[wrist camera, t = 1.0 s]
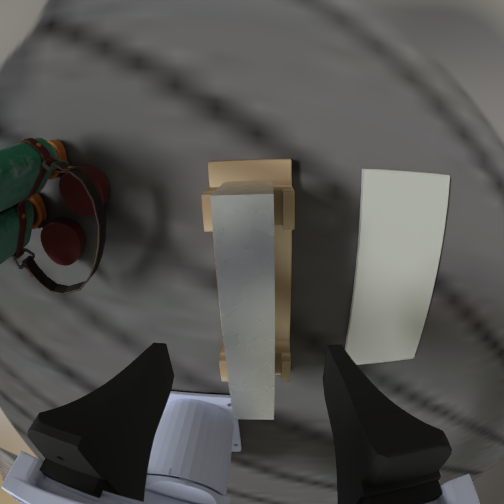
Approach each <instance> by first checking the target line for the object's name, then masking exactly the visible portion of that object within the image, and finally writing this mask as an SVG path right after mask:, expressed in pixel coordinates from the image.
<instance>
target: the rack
mask: <svg viewBox="0 0 504 504" xmlns="http://www.w3.org/2000/svg"><path fill="white" fill-rule="evenodd" d="M208 170H209V186H210V187H209V188H208V189H207V190H206V191H205V192H204V193H203V194H202V195H201V197H202V210H203V222H204V231H213V224H212V211H211V197H210V196H211V195H212V194H213V193H214V192H215V191H216V190H217V189H218V187H219V186H220V185H221V184H222V183H223V182H229V181H259V180H273V192H274V247H275V375H281V382H290V369H291V355H290V341H289V339H290V309H291V260H292V230H295V192H294V189H293V187H292V176H291V159H253V160H228V161H210V162H208ZM213 240H214V237H213ZM214 252H215V249H214ZM215 263H216V261H215ZM216 274H217V272H216ZM217 285H218V282H217ZM218 295H219V293H218ZM219 305H220V303H219ZM220 315H221V313H220ZM221 324H222V322H221ZM222 333H223V331H222ZM219 366H220V373H221V380H222V381H228V375H227V366H226V358H225V349H224V341H223V344H222V348H221V353H220V358H219Z"/></svg>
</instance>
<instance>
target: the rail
mask: <svg viewBox="0 0 504 504" xmlns="http://www.w3.org/2000/svg"><path fill="white" fill-rule="evenodd" d="M210 197H211V211H212V224H213V237H214V249H215V261H216V272H217V282H218V293H219V303H220V313H221V322H222V331H223V341H224V349H225V358H226V366H227V375H228V383H229V391H230V398H231V406H232V413H233V419H250V420H274V380H275V247H274V192H273V180H259V181H229V182H223V183H222V184H221V185H220V186H219V187H218V189H217V190H216V191H215V192H214V193H213V194H212V195H211V196H210Z"/></svg>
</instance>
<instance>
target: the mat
mask: <svg viewBox="0 0 504 504" xmlns="http://www.w3.org/2000/svg"><path fill="white" fill-rule="evenodd" d="M449 183H450V175H445V174H435V173H424V172H413V171H399V170H384V169H364V168H362V180H361V204H360V221H359V235H358V248H357V258H356V269H355V278H354V287H353V295H352V303H351V310H350V317H349V324H348V330H347V337H346V343H345V350H346V352H347V353H348V354H349V356H350V357H351V358H352V360H353V361H354V362H355V364H356V365H360V364H370V363H380V362H389V361H397V360H405V359H412V358H414V356H415V353H416V350H417V347H418V344H419V340H420V337H421V334H422V330H423V327H424V323H425V320H426V316H427V312H428V309H429V305H430V301H431V297H432V292H433V288H434V284H435V279H436V274H437V269H438V264H439V259H440V254H441V248H442V242H443V235H444V229H445V221H446V213H447V205H448V195H449Z"/></svg>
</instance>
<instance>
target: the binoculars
mask: <svg viewBox="0 0 504 504" xmlns="http://www.w3.org/2000/svg"><path fill="white" fill-rule="evenodd" d="M68 163H69V162H68V161H67V157H66V151H65V149H64V146H63V144H62V143H61V142H60V141H58V140H50V141H46V140H44V139H42V138H36V139H33V138H28V139H24V140H22V141H20V142H18V143H17V144H16V145H13V146H10V147H7V148H5V149H2V150H0V264H1V263H3V262H4V261H5V260H7V259H8V258H9V257H11V256H14V257H13V260H14V262H15V264H16V266H17V268H19V269H22V268H25V269H26V270H27V271H28V272H29V274H30V275H31V277H34V278H35V279H36V280H37V281H38V282H39V283H40V284H41V285H42V286H43V287H45V288H46V289H47V290H49V291H50V292H52V293H57V294H62V295H65V294H68V293H72V292H75V291H79V290H81V289H82V288H83V286H84V285H85V284H86V283H87V282H88V280H89V279H90V278H91V277H92V275H93V274H94V273H95V272H96V270H97V268H98V265H99V263H100V260H101V257H102V254H103V249H104V244H105V238H106V217H105V213H104V208H103V205H104V204H105V203H106V202H107V200H108V197H109V192H110V189H109V184H108V181H107V179H106V177H105V176H104V174H103V173H102V172H101V171H99V170H98V169H96V168H94V167H91V166H85V165H83V166H79V165H78V166H70V165H69V164H68ZM59 176H62V178H61V180H60V183H59V188H60V193H61V196H62V198H63V200H64V202H65V203H66V204H67V206H68V207H69V208H70V209H71V210H72V211H73V212H75V213H76V214H78V215H81V216H92V215H94V214H95V216H96V220H97V224H98V246H97V251H96V257H95V262H94V265H93V267H92V270H91V273H90V276H89V277H88V279H87V280H86V281H85V282H81V283H78V284H74V285H71V286H66V285H60V284H57V283H55V282H54V281H53V280H51V279H50V278H49V277H47V276H46V275H45V274H44V272H43V271H42V270H41V269H40V268H39V267H38V266H37V264H36V262H35V261H34V257H35V254H34V253H33V252H31V251H30V250H28V249H25V248H23V247H25V246H26V245H27V244H28V242H29V240H30V236H31V230H32V229H35V228H37V227H38V228H43V230H42V231H41V242H42V246H43V248H44V250H45V252H46V253H47V255H48V256H49V257H50V258H51V259H52V260H53V261H54V262H55V263H57V264H60V265H70V264H72V263H74V262H75V261H76V260H77V259H78V258H79V257H80V256H81V254H82V253H83V251H84V249H85V244H86V240H85V235H84V232H83V230H82V229H81V227H80V226H79V225H78V224H77V223H76V222H74V221H72V220H69V219H56V220H54V221H52V222H50V221H48V220H46V218H47V213H46V208H45V205H44V202H43V200H42V198H41V197H40V195H39V194H38V192H39V191H41V190H42V189H43V187H44V186H45V184H46V182H47V180H48V179H53V178H56V177H59ZM24 252H28V253H29V254H31V255H32V256H28V257H27V258H26V259H25V260H23V261H22V262H21V266H20V265H19V264H18V262H17V260H16V259H18V258H19V257H20V256H22V255H23V254H24Z"/></svg>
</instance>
